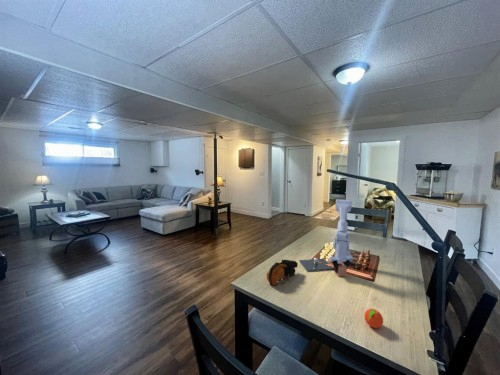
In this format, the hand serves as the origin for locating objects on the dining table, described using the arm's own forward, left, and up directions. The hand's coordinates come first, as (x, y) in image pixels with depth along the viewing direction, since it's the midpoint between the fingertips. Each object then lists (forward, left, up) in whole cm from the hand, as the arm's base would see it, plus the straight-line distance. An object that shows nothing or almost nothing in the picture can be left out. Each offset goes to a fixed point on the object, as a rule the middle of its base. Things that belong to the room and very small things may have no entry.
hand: (340, 271), depth 133 cm
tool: (+36, 0, -2) cm, 36 cm away
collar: (0, 0, -1) cm, 1 cm away
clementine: (+10, +42, -2) cm, 43 cm away
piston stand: (+10, -13, -2) cm, 16 cm away
